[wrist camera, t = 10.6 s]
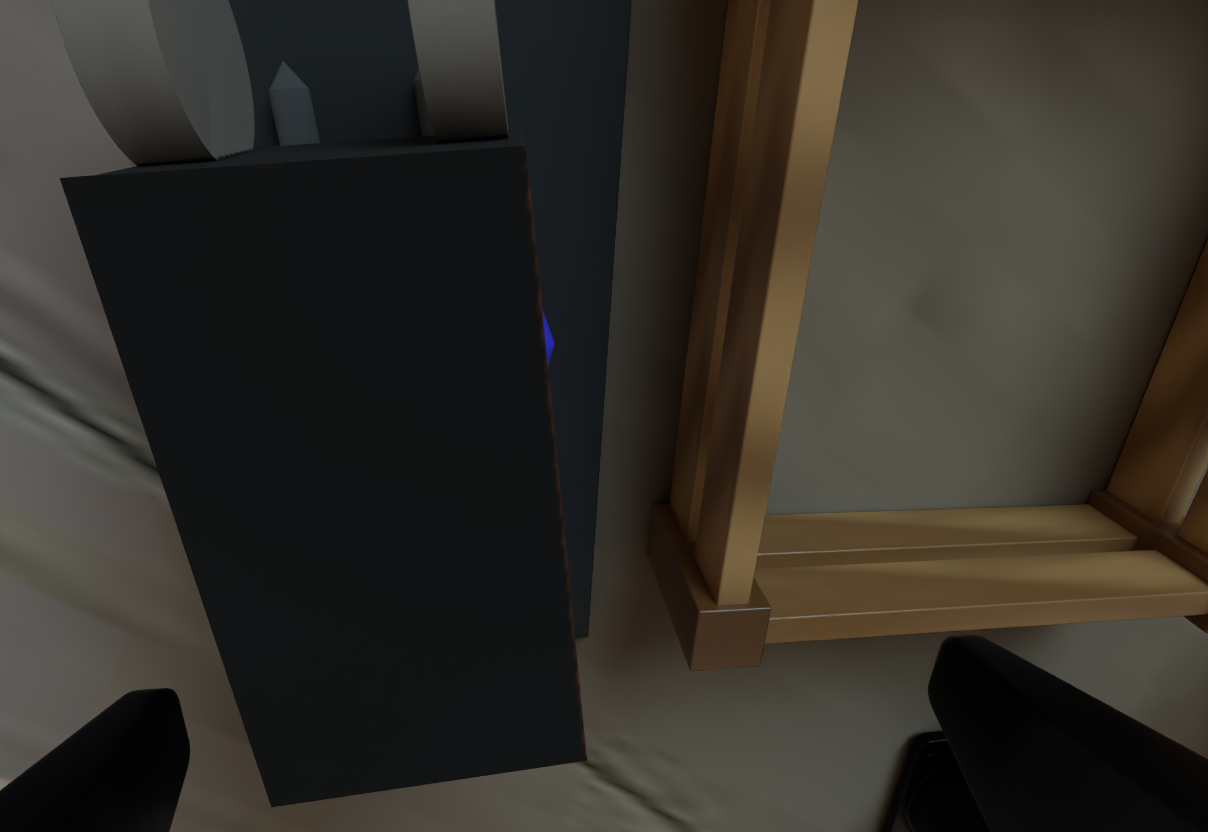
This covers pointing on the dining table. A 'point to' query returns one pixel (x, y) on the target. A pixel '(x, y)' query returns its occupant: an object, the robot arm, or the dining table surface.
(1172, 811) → the robot arm
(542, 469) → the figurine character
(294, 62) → the mat
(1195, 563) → the crate
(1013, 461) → the dining table surface
